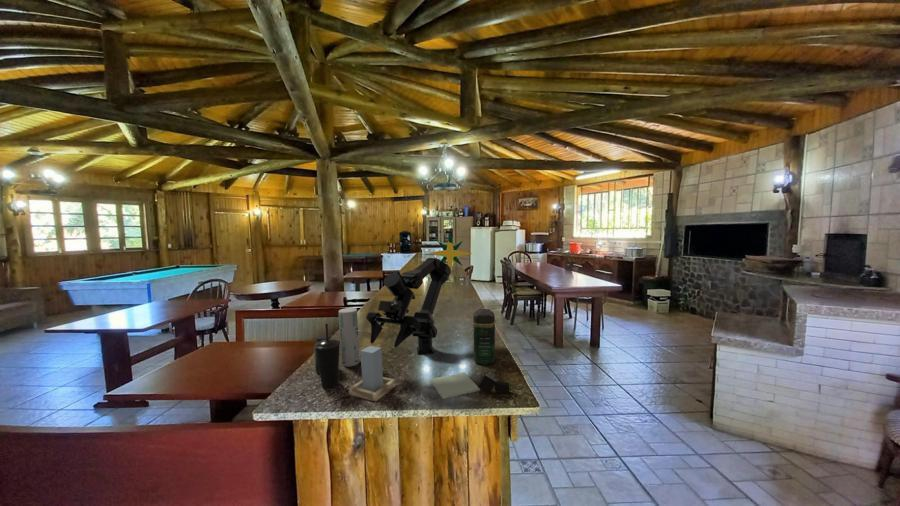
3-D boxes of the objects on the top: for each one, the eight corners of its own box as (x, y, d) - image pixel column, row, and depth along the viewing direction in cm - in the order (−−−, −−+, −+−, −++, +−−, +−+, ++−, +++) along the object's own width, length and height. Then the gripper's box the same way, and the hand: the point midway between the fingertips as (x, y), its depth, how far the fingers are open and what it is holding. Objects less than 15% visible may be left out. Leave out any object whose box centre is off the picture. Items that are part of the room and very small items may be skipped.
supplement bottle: (339, 366, 119) (338, 334, 118) (327, 375, 113) (325, 341, 111) (324, 364, 121) (322, 332, 120) (310, 372, 115) (308, 339, 114)
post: (371, 385, 105) (370, 345, 103) (383, 388, 103) (381, 347, 102) (362, 392, 101) (360, 350, 99) (374, 395, 99) (372, 353, 98)
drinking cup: (327, 393, 100) (323, 329, 99) (312, 387, 104) (308, 325, 103) (347, 382, 107) (344, 322, 105) (332, 377, 111) (328, 319, 109)
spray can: (359, 365, 120) (356, 311, 118) (340, 367, 118) (337, 313, 116) (359, 358, 126) (357, 307, 124) (342, 360, 124) (339, 308, 122)
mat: (430, 381, 107) (430, 379, 107) (464, 374, 111) (464, 372, 111) (442, 399, 95) (442, 397, 95) (480, 390, 100) (480, 388, 100)
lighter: (501, 398, 100) (511, 383, 99) (502, 402, 98) (513, 386, 97) (477, 383, 100) (487, 368, 99) (477, 387, 98) (487, 371, 97)
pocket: (370, 380, 108) (370, 374, 108) (395, 385, 104) (395, 379, 104) (349, 394, 99) (348, 388, 99) (376, 401, 95) (375, 394, 95)
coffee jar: (495, 365, 117) (495, 314, 115) (473, 365, 118) (472, 314, 116) (495, 354, 126) (494, 307, 124) (474, 354, 127) (473, 307, 125)
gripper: (368, 288, 113) (347, 329, 104) (415, 292, 105) (396, 336, 96) (382, 305, 121) (364, 345, 112) (427, 310, 113) (411, 353, 104)
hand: (383, 344), depth 106 cm, fingers open, 9 cm apart
